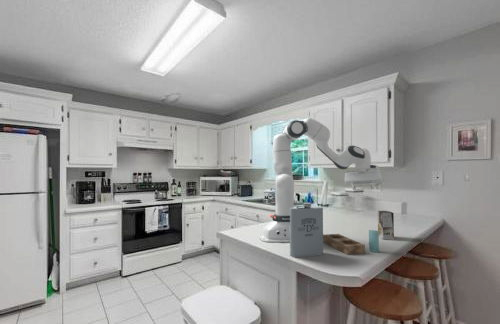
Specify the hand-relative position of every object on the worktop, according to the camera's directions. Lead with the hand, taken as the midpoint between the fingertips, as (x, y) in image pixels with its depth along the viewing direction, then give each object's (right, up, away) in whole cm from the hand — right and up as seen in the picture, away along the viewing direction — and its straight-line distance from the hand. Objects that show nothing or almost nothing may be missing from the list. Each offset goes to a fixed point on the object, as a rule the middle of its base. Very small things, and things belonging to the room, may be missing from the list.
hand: (363, 188), depth 134 cm
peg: (-2, -30, -15) cm, 34 cm away
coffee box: (+19, -32, +10) cm, 38 cm away
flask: (-37, -30, -21) cm, 52 cm away
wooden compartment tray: (-16, -30, -9) cm, 35 cm away
